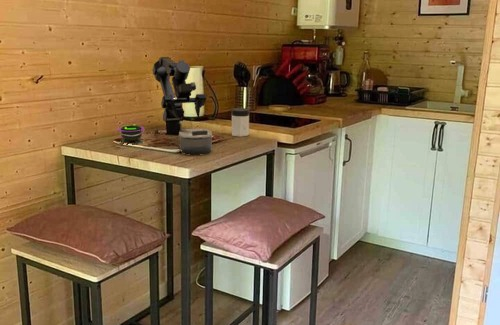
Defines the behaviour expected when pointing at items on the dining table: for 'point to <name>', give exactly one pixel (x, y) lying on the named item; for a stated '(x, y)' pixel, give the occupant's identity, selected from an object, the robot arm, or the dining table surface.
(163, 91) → the robot arm
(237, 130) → the jar
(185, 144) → the cooker pot
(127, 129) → the toy cauldron
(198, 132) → the cooker lid
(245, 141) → the dining table surface
